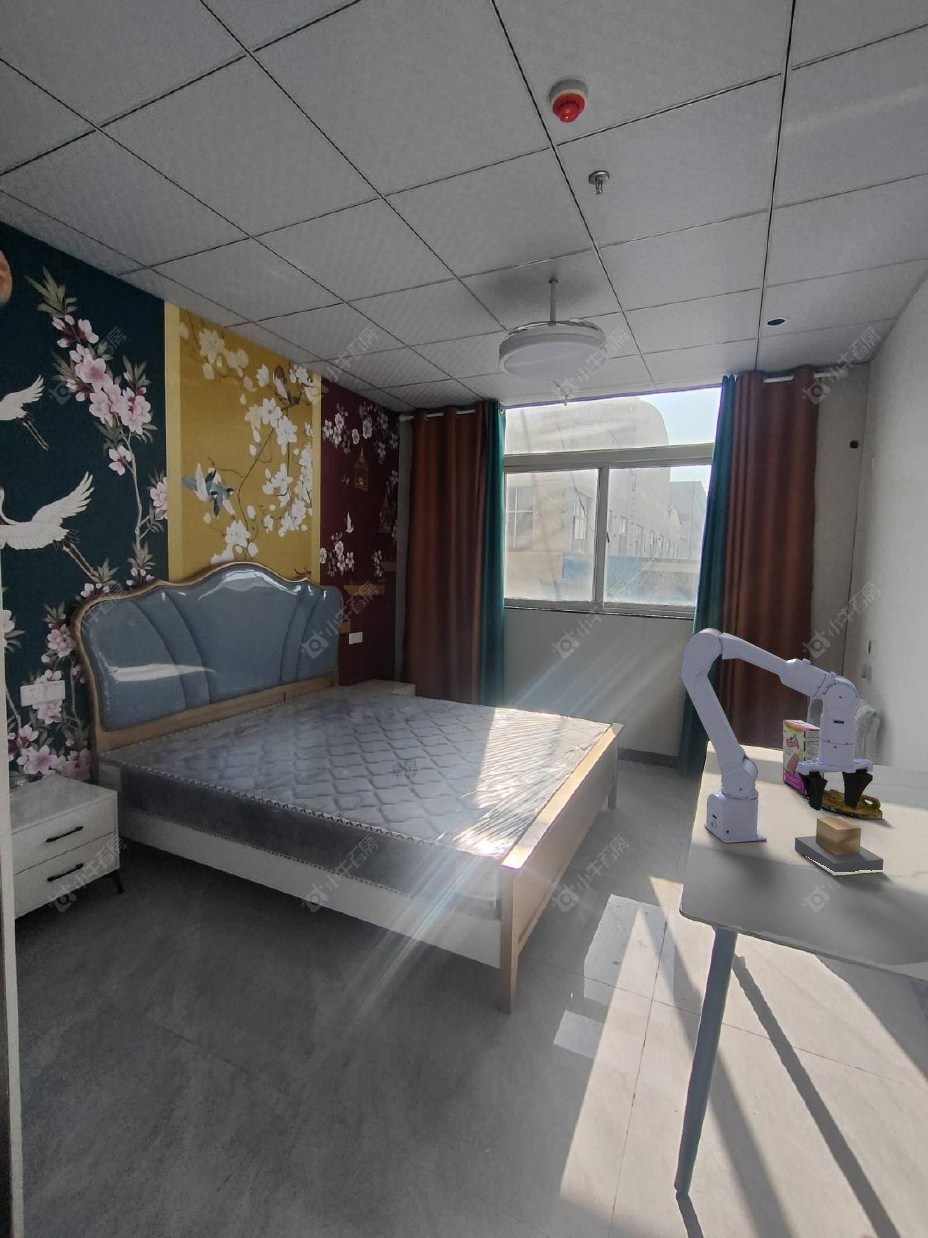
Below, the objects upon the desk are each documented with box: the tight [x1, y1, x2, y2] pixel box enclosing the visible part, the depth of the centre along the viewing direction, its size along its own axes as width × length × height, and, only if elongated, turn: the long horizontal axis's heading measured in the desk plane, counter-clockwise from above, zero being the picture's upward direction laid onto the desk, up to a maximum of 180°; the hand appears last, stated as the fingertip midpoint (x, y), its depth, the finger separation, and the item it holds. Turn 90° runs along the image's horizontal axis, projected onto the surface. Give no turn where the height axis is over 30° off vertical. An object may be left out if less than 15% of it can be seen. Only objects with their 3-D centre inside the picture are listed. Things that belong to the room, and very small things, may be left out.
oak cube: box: [815, 815, 862, 855], centre depth 107 cm, size 5×5×5 cm
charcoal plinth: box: [794, 835, 884, 872], centre depth 107 cm, size 10×10×2 cm
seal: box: [821, 788, 883, 820], centre depth 130 cm, size 9×5×15 cm
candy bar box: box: [782, 719, 825, 796], centre depth 141 cm, size 11×5×16 cm, turn 175°
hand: (832, 807), depth 109 cm, fingers open, 7 cm apart
